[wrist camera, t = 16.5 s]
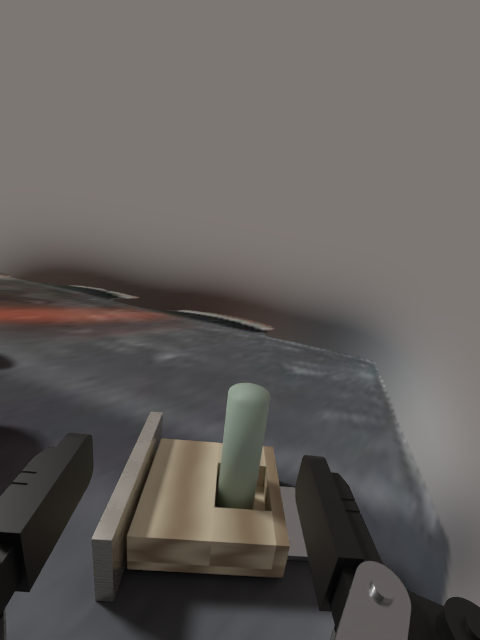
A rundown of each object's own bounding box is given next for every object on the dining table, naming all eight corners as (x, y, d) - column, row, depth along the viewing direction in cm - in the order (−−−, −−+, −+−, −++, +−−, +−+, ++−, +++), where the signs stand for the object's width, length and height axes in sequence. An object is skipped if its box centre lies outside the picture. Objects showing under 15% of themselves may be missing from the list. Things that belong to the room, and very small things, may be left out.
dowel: (214, 522, 30) (227, 403, 25) (217, 488, 33) (229, 381, 29) (253, 525, 30) (272, 408, 26) (252, 491, 33) (268, 385, 29)
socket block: (127, 568, 26) (126, 536, 24) (160, 464, 37) (161, 438, 36) (283, 577, 26) (289, 546, 25) (268, 472, 38) (272, 447, 37)
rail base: (95, 600, 24) (91, 539, 22) (150, 455, 39) (150, 411, 37) (385, 615, 25) (408, 558, 23) (328, 469, 40) (339, 427, 38)
